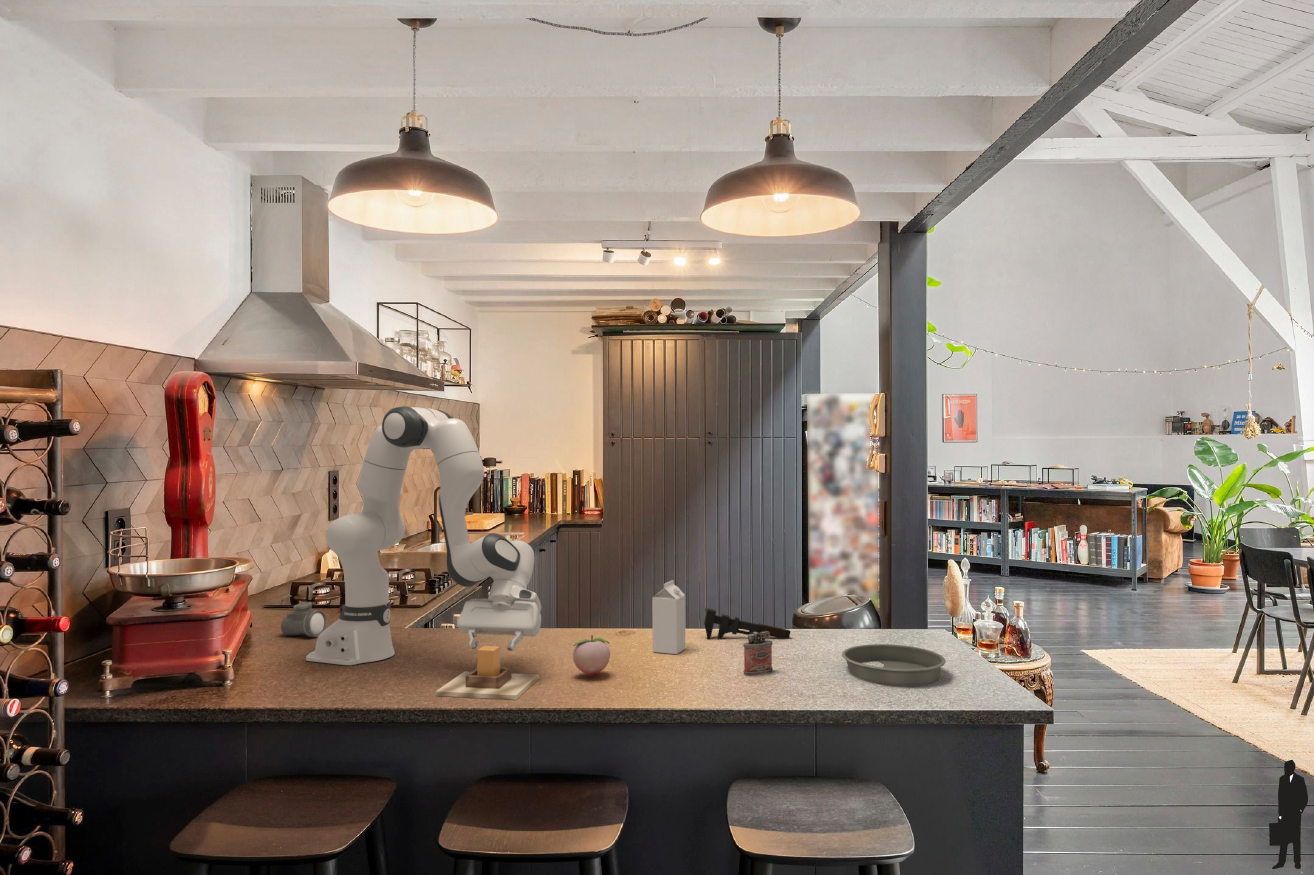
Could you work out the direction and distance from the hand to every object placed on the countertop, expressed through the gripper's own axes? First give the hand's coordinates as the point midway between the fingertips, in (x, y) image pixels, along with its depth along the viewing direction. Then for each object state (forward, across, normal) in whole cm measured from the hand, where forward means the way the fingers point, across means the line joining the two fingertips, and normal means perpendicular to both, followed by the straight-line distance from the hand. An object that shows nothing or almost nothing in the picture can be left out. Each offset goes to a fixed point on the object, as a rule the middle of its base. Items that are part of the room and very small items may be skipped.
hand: (491, 648), depth 181 cm
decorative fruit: (-1, +22, +13) cm, 26 cm away
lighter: (-8, +62, +19) cm, 66 cm away
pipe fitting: (-20, -75, +33) cm, 84 cm away
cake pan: (-11, +95, +23) cm, 99 cm away
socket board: (+7, 0, +4) cm, 9 cm away
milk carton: (-20, +37, +32) cm, 53 cm away
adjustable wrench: (-32, +58, +45) cm, 80 cm away
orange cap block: (+7, 0, +4) cm, 8 cm away
